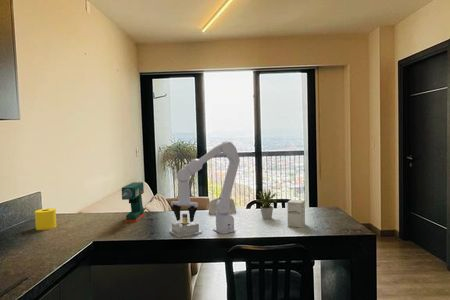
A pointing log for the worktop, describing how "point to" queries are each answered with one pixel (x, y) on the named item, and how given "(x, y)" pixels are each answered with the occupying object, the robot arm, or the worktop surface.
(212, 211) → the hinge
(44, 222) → the yellow holed block
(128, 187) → the power tool
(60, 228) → the worktop surface
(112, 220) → the worktop surface
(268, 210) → the house plant
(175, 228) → the chuck block
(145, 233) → the worktop surface
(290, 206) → the supplement box
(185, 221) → the brass cylinder rod
